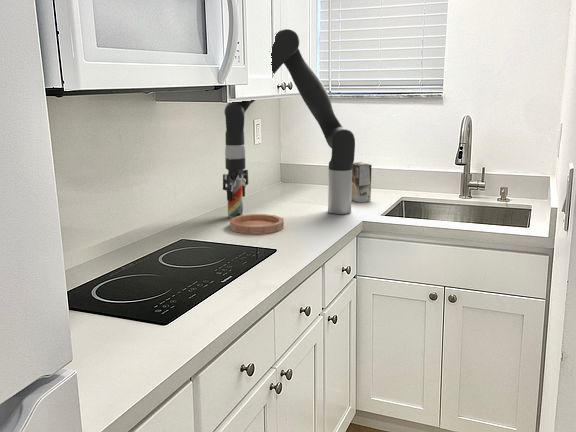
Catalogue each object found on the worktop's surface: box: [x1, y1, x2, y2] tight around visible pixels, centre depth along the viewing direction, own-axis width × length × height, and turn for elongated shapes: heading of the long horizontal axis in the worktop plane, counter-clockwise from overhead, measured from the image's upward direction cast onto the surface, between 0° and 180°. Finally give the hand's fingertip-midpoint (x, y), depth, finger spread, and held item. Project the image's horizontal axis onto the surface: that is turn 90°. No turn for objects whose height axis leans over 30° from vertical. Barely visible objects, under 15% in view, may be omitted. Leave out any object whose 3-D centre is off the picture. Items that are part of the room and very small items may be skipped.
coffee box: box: [351, 162, 373, 203], centre depth 250 cm, size 9×6×16 cm
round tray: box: [229, 213, 285, 235], centre depth 206 cm, size 19×19×3 cm
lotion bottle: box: [227, 170, 244, 219], centre depth 219 cm, size 6×6×20 cm
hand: (236, 198), depth 220 cm, fingers open, 8 cm apart
